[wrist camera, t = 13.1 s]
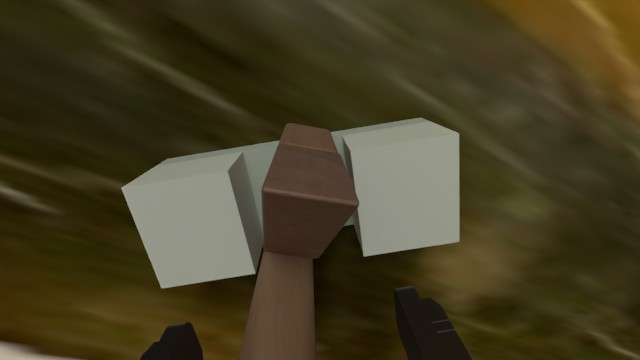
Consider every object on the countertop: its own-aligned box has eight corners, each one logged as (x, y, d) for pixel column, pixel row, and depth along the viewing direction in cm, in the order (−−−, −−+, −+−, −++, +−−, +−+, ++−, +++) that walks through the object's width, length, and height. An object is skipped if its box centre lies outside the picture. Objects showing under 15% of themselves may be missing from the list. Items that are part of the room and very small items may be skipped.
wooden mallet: (331, 129, 24) (389, 265, 7) (308, 247, 28) (312, 524, 11) (285, 121, 24) (232, 244, 7) (267, 241, 27) (204, 519, 10)
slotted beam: (167, 158, 27) (121, 188, 20) (420, 117, 26) (459, 133, 20) (194, 239, 29) (161, 288, 23) (424, 202, 29) (459, 241, 22)
